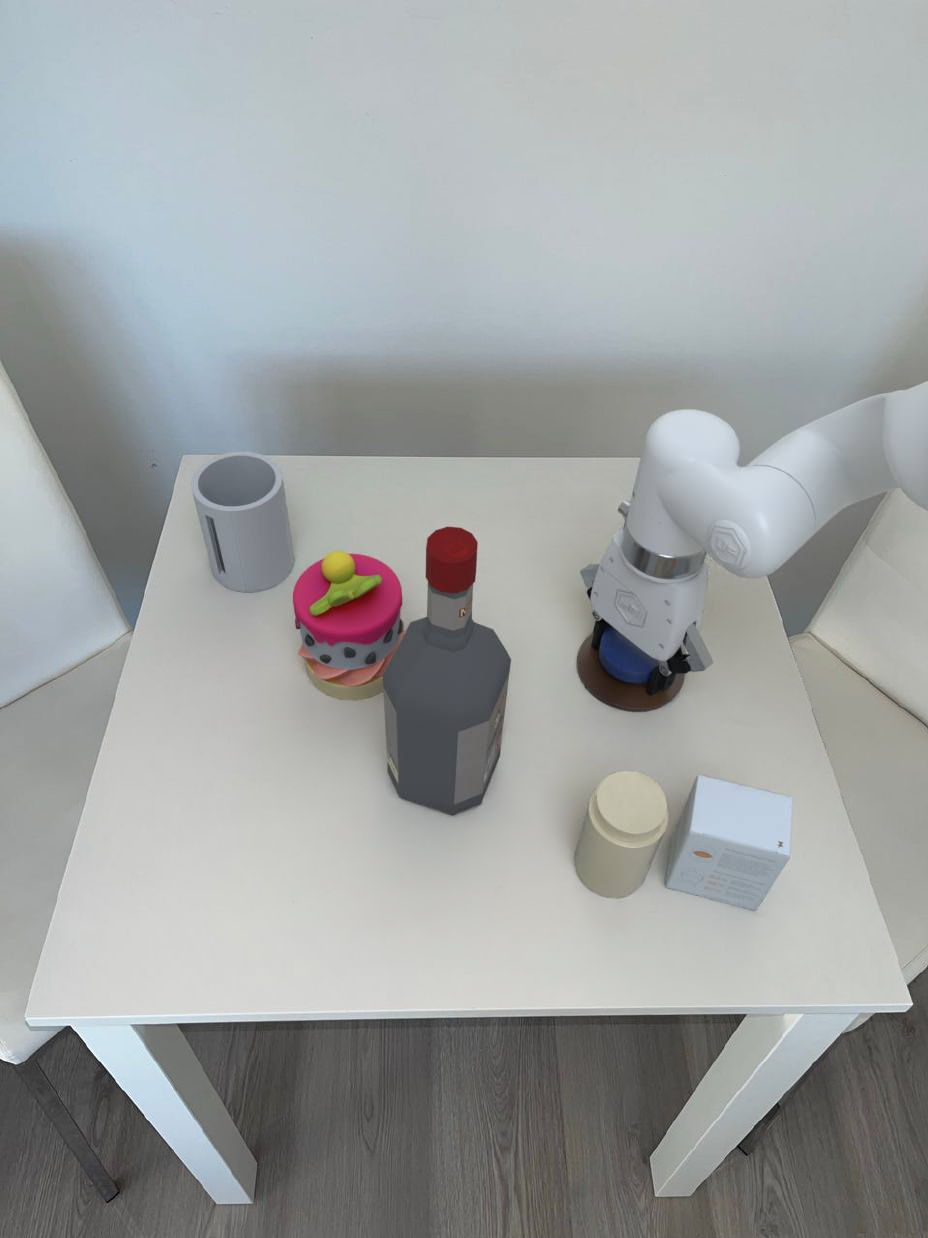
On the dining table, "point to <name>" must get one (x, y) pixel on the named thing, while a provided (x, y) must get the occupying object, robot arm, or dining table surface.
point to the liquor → (446, 688)
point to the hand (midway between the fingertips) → (630, 663)
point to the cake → (348, 623)
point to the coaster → (619, 684)
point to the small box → (730, 842)
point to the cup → (244, 520)
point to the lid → (624, 658)
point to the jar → (620, 834)
